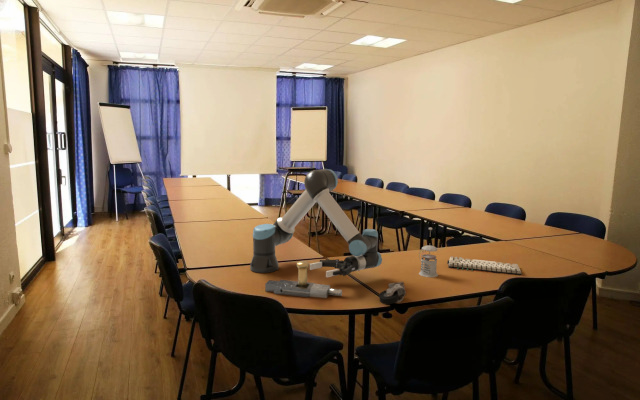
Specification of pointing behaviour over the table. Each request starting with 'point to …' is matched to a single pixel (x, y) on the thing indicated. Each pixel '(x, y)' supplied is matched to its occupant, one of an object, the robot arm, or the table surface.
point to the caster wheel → (393, 293)
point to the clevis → (301, 289)
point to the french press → (428, 270)
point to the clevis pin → (302, 273)
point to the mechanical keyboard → (483, 266)
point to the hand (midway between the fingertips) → (318, 270)
